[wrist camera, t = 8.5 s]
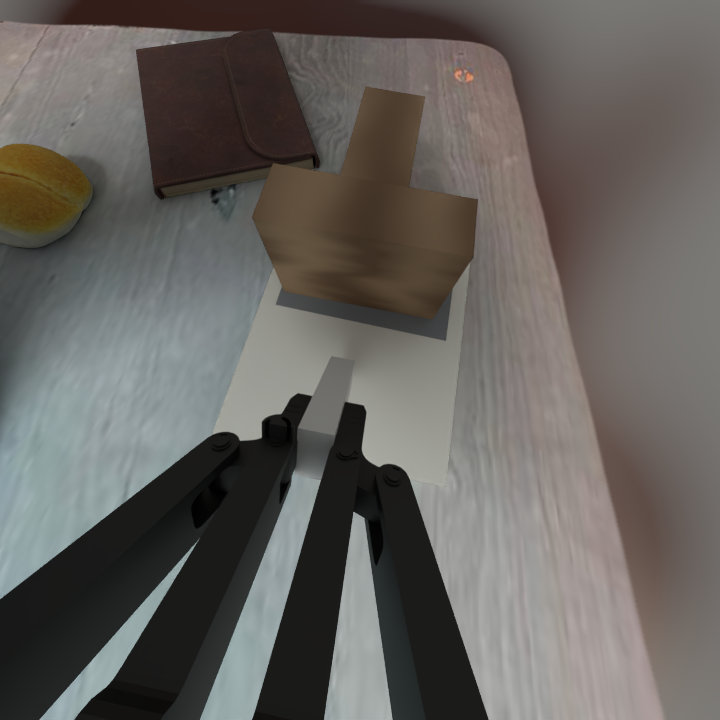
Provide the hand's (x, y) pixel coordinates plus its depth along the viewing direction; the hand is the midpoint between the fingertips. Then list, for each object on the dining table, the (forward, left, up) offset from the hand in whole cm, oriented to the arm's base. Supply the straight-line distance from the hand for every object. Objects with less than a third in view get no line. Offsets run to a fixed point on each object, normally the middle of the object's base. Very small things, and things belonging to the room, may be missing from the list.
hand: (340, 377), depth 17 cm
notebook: (-26, +18, -4) cm, 32 cm away
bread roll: (-31, -1, -4) cm, 31 cm away
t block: (-5, +12, -3) cm, 13 cm away
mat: (-2, +7, -3) cm, 8 cm away
